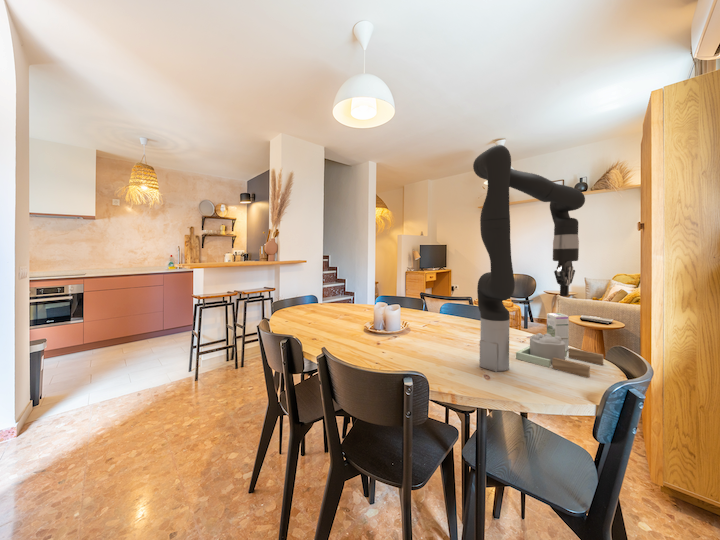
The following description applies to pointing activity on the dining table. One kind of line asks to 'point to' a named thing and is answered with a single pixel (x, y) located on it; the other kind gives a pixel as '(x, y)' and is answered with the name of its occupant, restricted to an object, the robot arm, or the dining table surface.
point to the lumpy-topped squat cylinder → (547, 346)
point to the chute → (577, 367)
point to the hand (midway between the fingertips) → (564, 295)
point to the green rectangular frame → (533, 357)
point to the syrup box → (558, 327)
